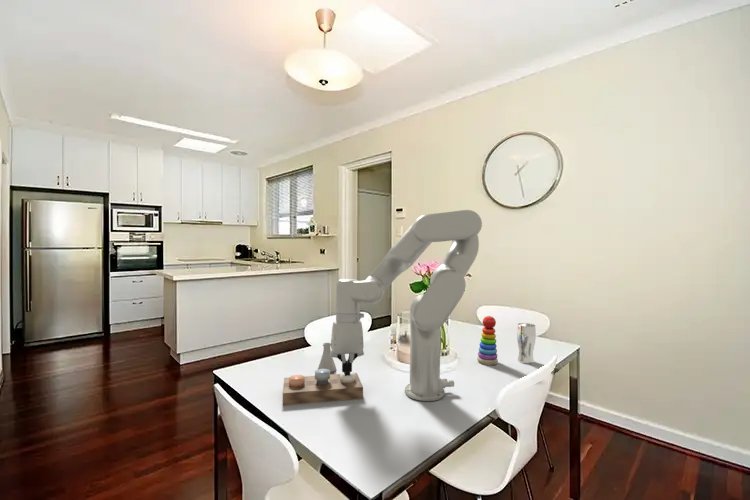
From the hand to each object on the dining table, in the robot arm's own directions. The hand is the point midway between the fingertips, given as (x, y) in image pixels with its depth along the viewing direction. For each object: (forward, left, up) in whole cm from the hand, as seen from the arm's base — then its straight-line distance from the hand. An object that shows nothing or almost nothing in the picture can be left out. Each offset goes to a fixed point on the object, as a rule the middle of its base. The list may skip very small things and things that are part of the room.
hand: (346, 374), depth 116 cm
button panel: (+8, 0, -6) cm, 10 cm away
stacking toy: (-59, -17, -6) cm, 62 cm away
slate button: (+8, 0, -4) cm, 9 cm away
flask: (+5, -20, -6) cm, 21 cm away
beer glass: (-75, -15, -6) cm, 77 cm away
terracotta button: (+16, 0, -6) cm, 17 cm away
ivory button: (0, 0, -5) cm, 6 cm away
